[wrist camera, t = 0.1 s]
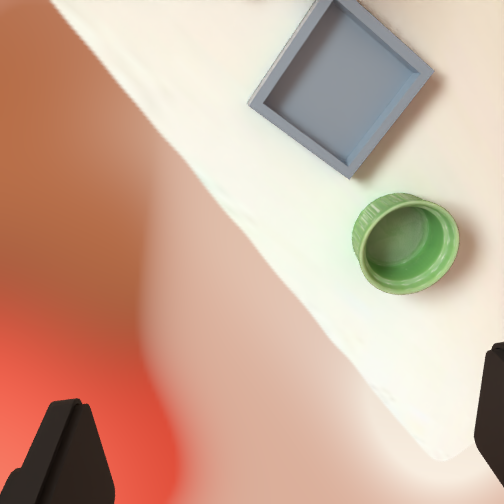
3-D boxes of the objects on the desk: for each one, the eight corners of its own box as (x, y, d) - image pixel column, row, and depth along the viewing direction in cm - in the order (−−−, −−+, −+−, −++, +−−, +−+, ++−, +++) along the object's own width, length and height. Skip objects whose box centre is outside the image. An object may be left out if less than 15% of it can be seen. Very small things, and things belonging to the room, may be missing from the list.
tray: (326, -17, 35) (333, -21, 33) (423, 70, 38) (434, 71, 36) (246, 103, 38) (248, 105, 36) (342, 173, 41) (349, 179, 39)
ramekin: (351, 282, 45) (365, 304, 41) (340, 198, 42) (354, 214, 38) (438, 262, 45) (460, 283, 41) (435, 177, 42) (459, 190, 38)
